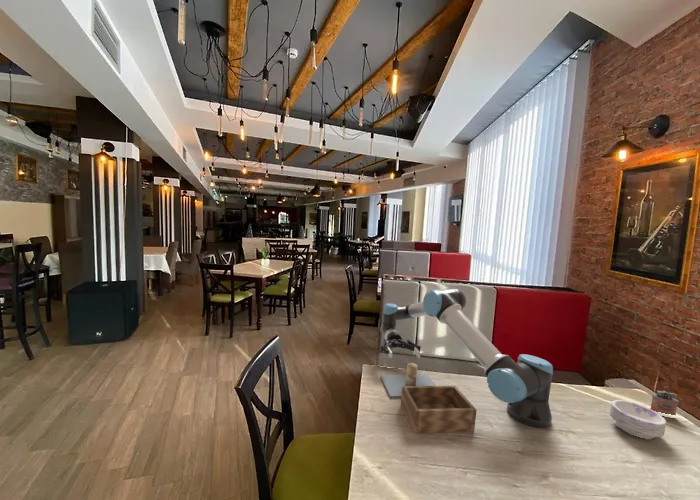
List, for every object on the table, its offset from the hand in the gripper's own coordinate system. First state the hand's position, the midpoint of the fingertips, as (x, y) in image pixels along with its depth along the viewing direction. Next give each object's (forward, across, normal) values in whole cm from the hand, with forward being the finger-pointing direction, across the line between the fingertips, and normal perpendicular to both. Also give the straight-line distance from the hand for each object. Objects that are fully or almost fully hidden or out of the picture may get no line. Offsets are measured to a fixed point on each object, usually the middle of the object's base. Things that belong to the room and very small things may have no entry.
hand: (405, 355), depth 146 cm
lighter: (+33, -100, -10) cm, 106 cm away
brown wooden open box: (+31, -2, -10) cm, 33 cm away
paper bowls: (+42, -76, -10) cm, 88 cm away
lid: (+10, 0, -10) cm, 14 cm away
